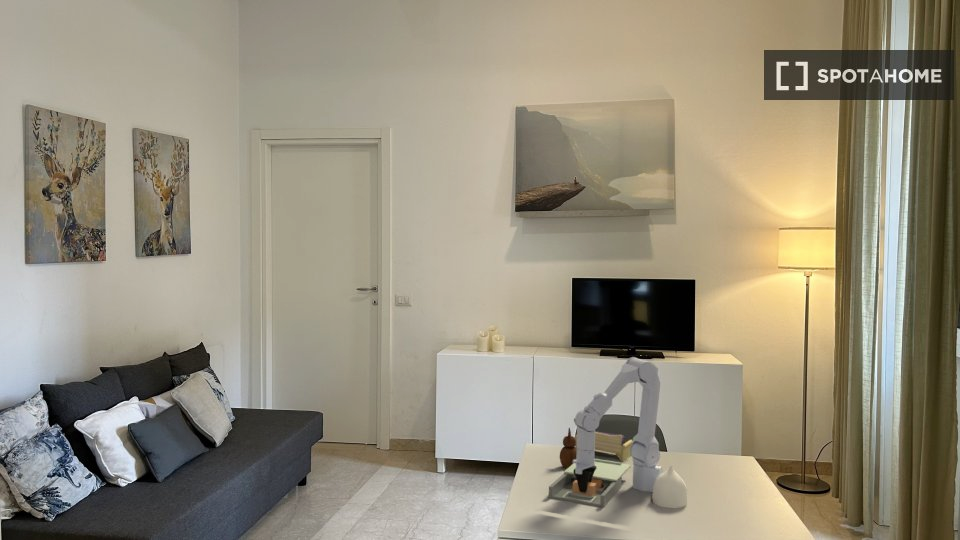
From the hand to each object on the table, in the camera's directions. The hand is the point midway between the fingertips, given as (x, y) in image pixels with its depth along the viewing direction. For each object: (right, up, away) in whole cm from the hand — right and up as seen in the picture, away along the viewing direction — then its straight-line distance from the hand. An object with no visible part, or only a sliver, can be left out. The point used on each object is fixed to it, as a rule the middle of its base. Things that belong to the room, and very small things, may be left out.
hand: (584, 490), depth 246 cm
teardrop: (+27, -3, -2) cm, 27 cm away
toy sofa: (+14, -1, +49) cm, 51 cm away
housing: (+1, -2, +2) cm, 3 cm away
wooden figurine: (-1, -1, +32) cm, 32 cm away
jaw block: (0, -1, 0) cm, 1 cm away
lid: (+7, +3, +14) cm, 16 cm away
